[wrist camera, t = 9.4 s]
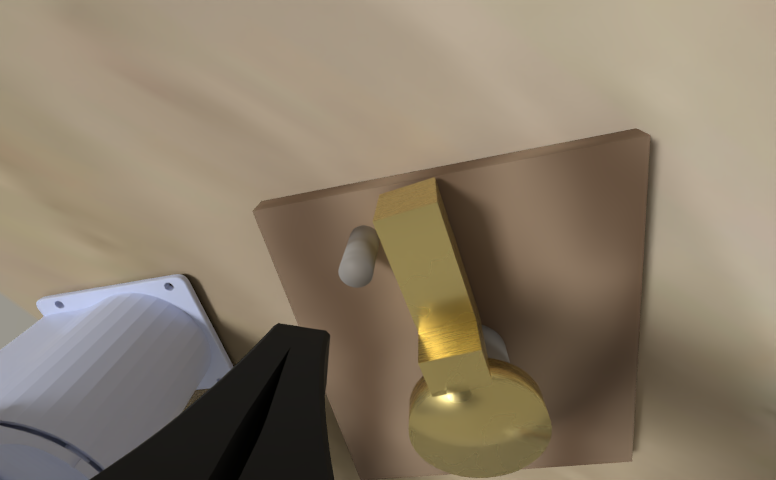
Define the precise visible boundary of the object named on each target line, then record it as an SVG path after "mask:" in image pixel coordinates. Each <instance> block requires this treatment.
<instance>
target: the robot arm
mask: <svg viewBox="0 0 776 480" xmlns="http://www.w3.org/2000/svg"><path fill="white" fill-rule="evenodd" d="M169 283H170V284H172V285H173V286H174V287H172V286H170V284H169ZM36 304H37V307H38V309H39V310H40V312H41V313H42V314H43V316H44V317H43V318H41V319H40V320H39V321H37V322H36V323H35V324H34V325H33V326H31V327H30V328H28V329H27V330H26V331H25V332H23V333H22V334H21V335H19V336H18V337H17V338H15V339H14V340H13V341H11V342H10V343H9V344H7V345H6V346H5V347H4V348H2V349H1V350H0V480H334V475H333V470H332V464H331V457H330V451H329V443H328V435H327V425H326V415H325V398H324V396H325V391H326V385H327V372H328V359H329V346H330V334H329V333H328V332H327V331H326V330H319V329H313V328H306V327H300V326H293V325H286V324H280V323H278V324H276V325H275V326H273V328H272V329H271V330H270V331H269V332H268V333H267V334H266V335H265V336H264V337H263V338H262V339H261V340H260V341H259V342H258V343H257V344H256V345H255V346H254V348H253V349H252V350H251V351H250V352H249V353H248V354H247V355H245V356H244V357H243V358H242V359H241V360H240V361H239V362H238V363H237V364H236V365H235V366H233V365H232V363H231V361H230V359H229V357H228V355H227V353H226V351H225V349H224V347H223V345H222V343H221V341H220V339H219V338H218V336H217V334H216V332H215V330H214V328H213V326H212V324H211V322H210V320H209V318H208V316H207V314H206V312H205V311H204V309H203V307H202V305H201V303H200V301H199V299H198V297H197V295H196V293H195V291H194V289H193V287H192V285H191V284H190V282H189V280H188V279H187V278H186V277H185V276H184V275H181V274H175V275H169V276H163V277H157V278H151V279H145V280H139V281H133V282H127V283H121V284H116V285H110V286H104V287H98V288H92V289H86V290H80V291H74V292H68V293H62V294H56V295H50V296H44V297H42V298H41V299H39V300H38V301H37V302H36ZM208 388H210V389H209V390H208V391H207V392H206V393H204V394H203V395H202V396H201V397H200V398H199V399H197V400H196V401H195V402H194V403H193V404H192V405H190V406H189V407H188V408H187V409H186V410H184V408H185V406H186V405H187V403H188V402H189V400H190V398H191V397H192V395H193V394H194V392H195V390H200V389H208ZM183 410H184V411H183ZM182 411H183V412H182Z"/></svg>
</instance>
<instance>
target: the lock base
mask: <svg viewBox="0 0 776 480" xmlns="http://www.w3.org/2000/svg"><path fill="white" fill-rule="evenodd" d="M649 153H650V135H649V134H647V133H645V132H643V131H641V130H638V129H631V130H626V131H621V132H616V133H611V134H606V135H601V136H595V137H590V138H585V139H580V140H575V141H570V142H565V143H559V144H554V145H549V146H544V147H539V148H534V149H528V150H523V151H518V152H513V153H508V154H503V155H498V156H492V157H487V158H482V159H477V160H472V161H467V162H462V163H456V164H451V165H446V166H441V167H436V168H431V169H425V170H420V171H415V172H410V173H405V174H400V175H395V176H389V177H384V178H379V179H374V180H369V181H364V182H359V183H353V184H348V185H343V186H338V187H333V188H328V189H322V190H317V191H312V192H307V193H302V194H297V195H292V196H286V197H281V198H276V199H271V200H266V201H261V202H260V204H259V205H258V206H257V207H256V208H255V209H254V210H253V214H254V216H255V219H256V221H257V224H258V226H259V229H260V231H261V233H262V236H263V238H264V241H265V243H266V246H267V248H268V251H269V253H270V256H271V258H272V261H273V263H274V266H275V268H276V271H277V273H278V276H279V278H280V281H281V283H282V286H283V288H284V291H285V293H286V296H287V298H288V301H289V303H290V306H291V308H292V311H293V313H294V315H295V318H296V320H297V323H298V325H299V326H300V327H306V328H313V329H319V330H326V331H327V332H328V333H329V334H330V346H329V359H328V372H327V385H326V391H325V393H326V395H327V397H328V400H329V402H330V405H331V407H332V410H333V412H334V415H335V417H336V420H337V422H338V425H339V427H340V430H341V432H342V435H343V437H344V440H345V442H346V445H347V447H348V450H349V452H350V455H351V457H352V460H353V462H354V465H355V467H356V470H357V472H358V475H359V477H360V479H361V480H373V479H388V478H402V477H417V476H431V475H445V474H450V473H447V472H444V471H442V470H440V469H437V468H436V467H434V466H432V465H430V464H429V463H428V462H426V461H425V460H424V459H423V458H421V457H420V456H419V454H418V453H417V452H416V451H415V449H414V448H413V446H412V444H411V441H410V438H409V401H410V396H411V393H412V390H413V388H414V386H415V385H416V383H417V382H418V381H419V380H420V378H421V377H422V376H423V374H422V372H421V369H420V367H419V365H418V331H417V328H416V326H415V324H414V321H413V319H412V316H411V314H410V311H409V309H408V307H407V304H406V302H405V299H404V297H403V294H402V292H401V290H400V287H399V285H398V282H397V280H396V278H395V275H394V273H393V270H392V268H391V265H390V263H389V261H388V258H387V256H386V253H385V251H384V249H383V246H382V244H381V241H380V239H379V236H378V234H377V232H376V229H375V227H374V224H373V218H374V214H375V210H376V206H377V202H378V198H379V195H380V194H383V193H386V192H389V191H392V190H395V189H398V188H402V187H405V186H408V185H411V184H414V183H417V182H421V181H424V180H427V179H430V178H433V177H435V178H436V182H437V185H438V188H439V191H440V194H441V197H442V200H443V203H444V206H445V209H446V212H447V215H448V219H449V222H450V225H451V228H452V231H453V234H454V237H455V240H456V243H457V246H458V249H459V252H460V256H461V259H462V262H463V265H464V268H465V271H466V274H467V277H468V280H469V283H470V286H471V289H472V292H473V296H474V299H475V302H476V305H477V308H478V311H479V314H480V320H481V325H482V330H483V335H484V340H485V345H486V350H487V355H488V358H493V359H498V360H502V361H505V362H508V363H511V364H513V365H515V366H517V367H519V368H521V369H522V370H524V371H525V372H527V373H528V374H529V375H530V376H531V377H532V378H533V379H534V380H535V382H536V383H537V384H538V386H539V388H540V390H541V393H542V396H543V399H544V402H545V405H546V408H547V411H548V414H549V417H550V420H551V425H552V435H551V439H550V442H549V444H548V446H547V448H546V449H545V451H544V452H543V453H542V454H541V456H540V457H539V458H537V459H536V460H535V461H534V462H532V463H531V464H529V465H528V466H526V467H524V468H522V469H532V468H546V467H560V466H575V465H589V464H603V463H618V462H632V453H633V435H634V418H635V400H636V382H637V365H638V347H639V329H640V312H641V294H642V276H643V259H644V241H645V223H646V206H647V188H648V170H649Z"/></svg>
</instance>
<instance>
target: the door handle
mask: <svg viewBox="0 0 776 480" xmlns="http://www.w3.org/2000/svg"><path fill="white" fill-rule="evenodd" d="M373 224H374V227H375V229H376V232H377V234H378V236H379V239H380V241H381V244H382V246H383V249H384V251H385V253H386V256H387V258H388V261H389V263H390V265H391V268H392V270H393V273H394V275H395V278H396V280H397V282H398V285H399V287H400V290H401V292H402V294H403V297H404V299H405V302H406V304H407V307H408V309H409V311H410V314H411V316H412V319H413V321H414V324H415V326H416V328H417V331H418V365H419V367H420V369H421V372H422V374H423V376H422V377H421V378H420V380H419V381H418V382H417V383H416V385H415V386H414V388H413V390H412V393H411V396H410V401H409V438H410V441H411V444H412V446H413V448H414V449H415V451H416V452H417V453H418V454H419V456H420V457H421V458H423V459H424V460H425V461H426V462H428V463H429V464H430V465H432V466H434V467H436V468H437V469H440V470H442V471H444V472H447V473H450V474H454V475H458V476H464V477H473V478H487V477H496V476H501V475H506V474H509V473H513V472H515V471H518V470H520V469H522V468H524V467H526V466H528V465H529V464H531V463H532V462H534V461H535V460H536V459H537V458H539V457H540V456H541V454H542V453H543V452H544V451H545V449H546V448H547V446H548V444H549V442H550V439H551V435H552V425H551V420H550V417H549V414H548V411H547V408H546V405H545V402H544V399H543V396H542V393H541V390H540V388H539V386H538V384H537V383H536V382H535V380H534V379H533V378H532V377H531V376H530V375H529V374H528V373H527V372H525V371H524V370H522V369H521V368H519V367H517V366H515V365H513V364H511V363H508V362H505V361H502V360H498V359H493V358H488V355H487V350H486V345H485V340H484V335H483V330H482V325H481V320H480V314H479V311H478V308H477V305H476V302H475V299H474V296H473V292H472V289H471V286H470V283H469V280H468V277H467V274H466V271H465V268H464V265H463V262H462V259H461V256H460V252H459V249H458V246H457V243H456V240H455V237H454V234H453V231H452V228H451V225H450V222H449V219H448V215H447V212H446V209H445V206H444V203H443V200H442V197H441V194H440V191H439V188H438V185H437V182H436V178H435V177H433V178H430V179H427V180H424V181H421V182H417V183H414V184H411V185H408V186H405V187H402V188H398V189H395V190H392V191H389V192H386V193H383V194H380V195H379V198H378V202H377V206H376V210H375V214H374V218H373Z"/></svg>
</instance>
